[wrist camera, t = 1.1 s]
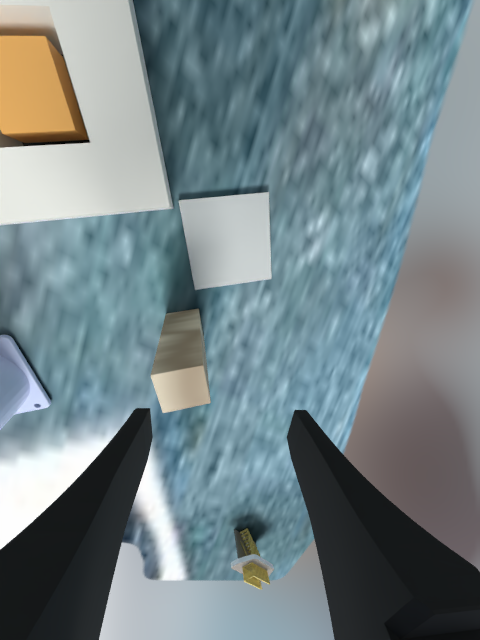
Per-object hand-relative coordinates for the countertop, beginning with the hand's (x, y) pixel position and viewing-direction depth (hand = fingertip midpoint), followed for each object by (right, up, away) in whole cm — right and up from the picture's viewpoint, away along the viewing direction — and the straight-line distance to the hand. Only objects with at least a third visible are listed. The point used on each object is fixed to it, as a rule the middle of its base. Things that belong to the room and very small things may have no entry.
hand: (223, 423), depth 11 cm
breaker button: (-10, +18, +2) cm, 21 cm away
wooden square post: (-4, +5, +10) cm, 12 cm away
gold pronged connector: (+2, -33, +30) cm, 45 cm away
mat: (0, +12, +8) cm, 14 cm away
